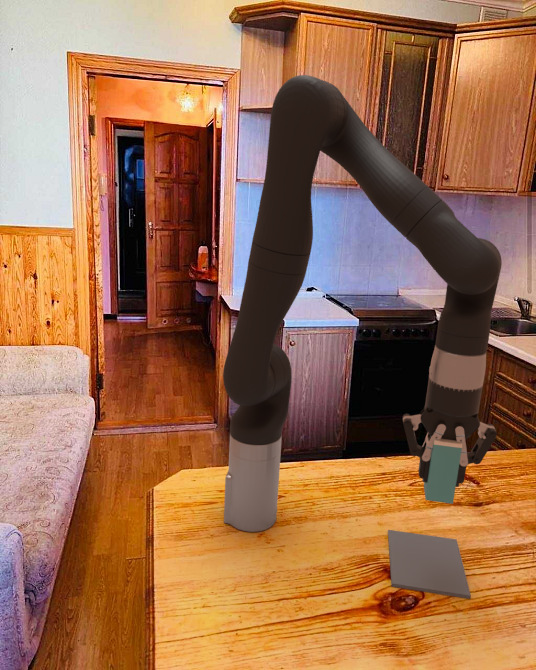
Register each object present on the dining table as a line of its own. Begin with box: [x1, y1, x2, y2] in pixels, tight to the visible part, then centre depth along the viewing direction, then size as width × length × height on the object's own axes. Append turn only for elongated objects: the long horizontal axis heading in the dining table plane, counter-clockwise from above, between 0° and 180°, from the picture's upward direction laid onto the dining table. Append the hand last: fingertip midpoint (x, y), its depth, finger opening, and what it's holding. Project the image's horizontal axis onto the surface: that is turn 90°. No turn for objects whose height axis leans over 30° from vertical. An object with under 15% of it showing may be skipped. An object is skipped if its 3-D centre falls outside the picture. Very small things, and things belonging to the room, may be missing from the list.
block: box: [423, 439, 462, 505], centre depth 86 cm, size 4×4×10 cm
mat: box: [387, 529, 471, 600], centre depth 95 cm, size 12×14×1 cm
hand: (440, 481), depth 87 cm, fingers closed on block, 4 cm apart
